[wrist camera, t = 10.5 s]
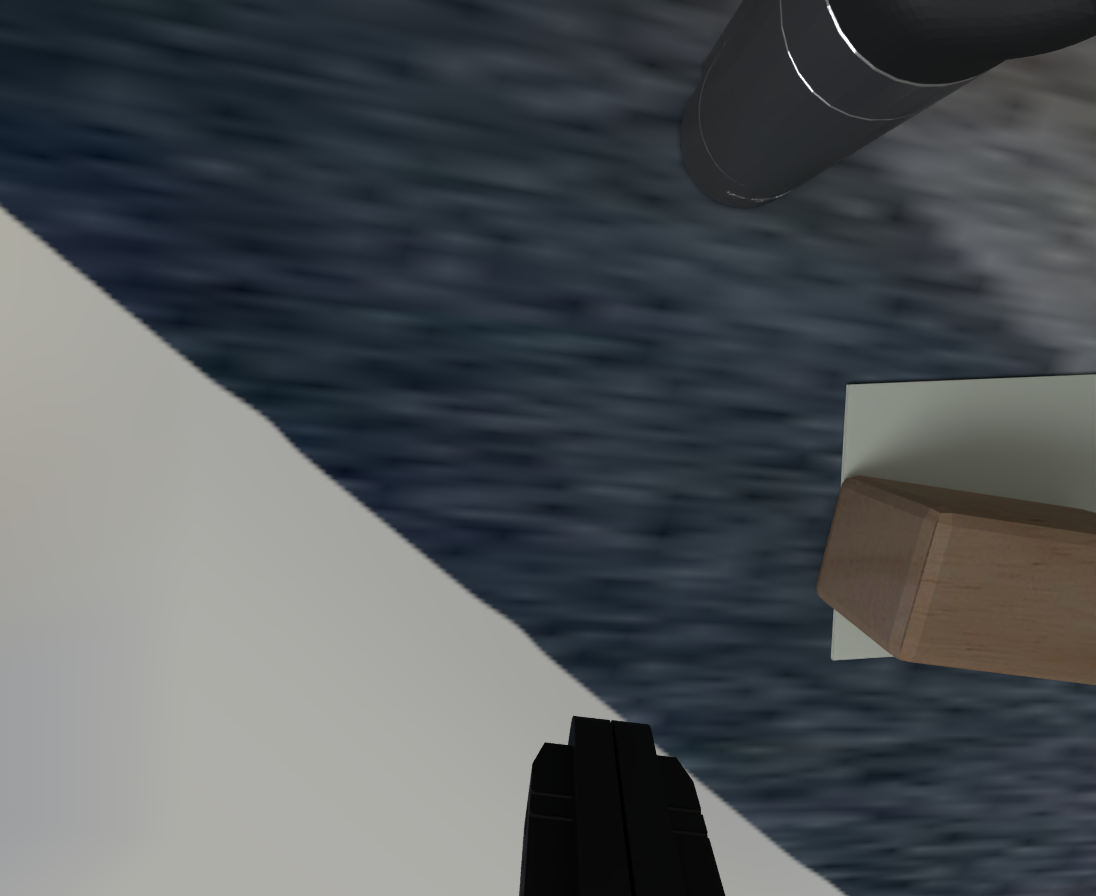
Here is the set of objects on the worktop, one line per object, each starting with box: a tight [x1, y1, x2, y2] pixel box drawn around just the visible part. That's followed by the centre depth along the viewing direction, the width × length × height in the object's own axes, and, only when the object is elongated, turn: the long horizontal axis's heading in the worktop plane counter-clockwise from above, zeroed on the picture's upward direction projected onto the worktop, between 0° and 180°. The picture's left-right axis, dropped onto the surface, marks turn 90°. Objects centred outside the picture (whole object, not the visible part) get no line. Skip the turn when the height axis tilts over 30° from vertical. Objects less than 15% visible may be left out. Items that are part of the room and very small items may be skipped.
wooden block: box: [816, 475, 1096, 685], centre depth 37 cm, size 10×10×20 cm
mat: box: [831, 374, 1096, 660], centre depth 42 cm, size 22×22×1 cm
